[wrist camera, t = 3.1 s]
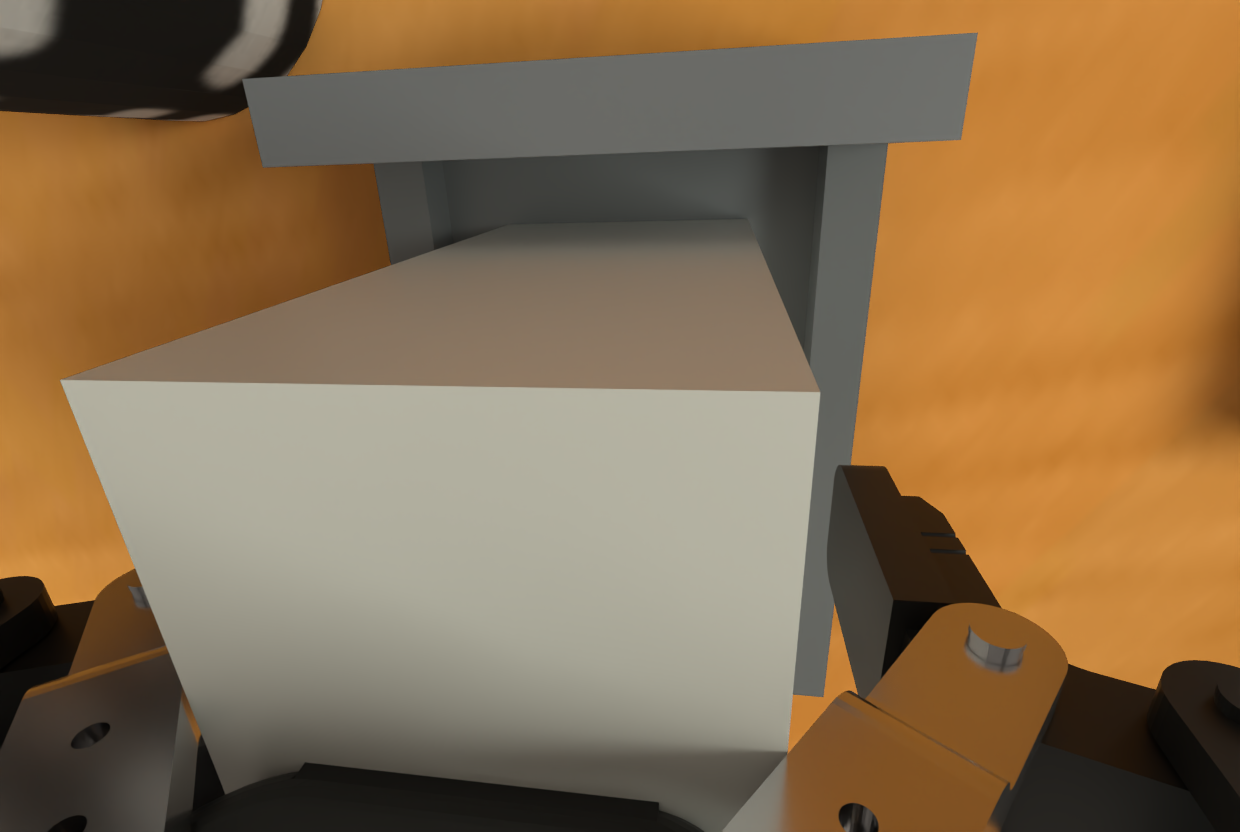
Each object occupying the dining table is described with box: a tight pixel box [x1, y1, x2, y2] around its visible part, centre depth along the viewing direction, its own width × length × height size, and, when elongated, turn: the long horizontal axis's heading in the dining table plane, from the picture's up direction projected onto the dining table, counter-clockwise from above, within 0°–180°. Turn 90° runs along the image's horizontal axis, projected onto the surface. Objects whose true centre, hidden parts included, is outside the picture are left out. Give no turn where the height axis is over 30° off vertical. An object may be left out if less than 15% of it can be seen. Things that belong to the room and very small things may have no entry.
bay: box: [242, 33, 978, 697], centre depth 13 cm, size 14×10×5 cm
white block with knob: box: [60, 219, 820, 832], centre depth 10 cm, size 9×5×11 cm, turn 2°
